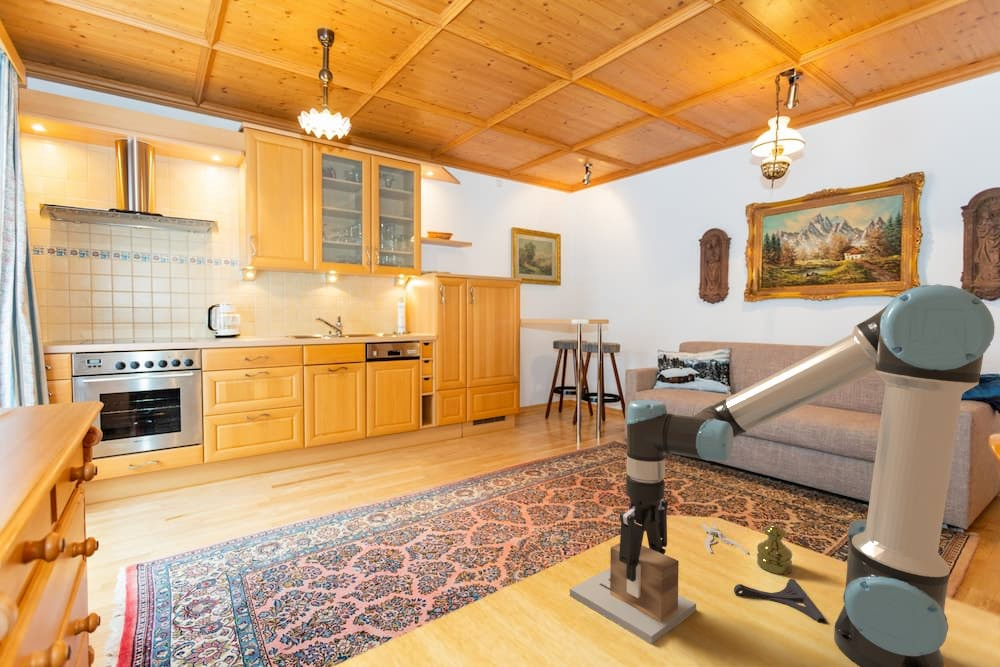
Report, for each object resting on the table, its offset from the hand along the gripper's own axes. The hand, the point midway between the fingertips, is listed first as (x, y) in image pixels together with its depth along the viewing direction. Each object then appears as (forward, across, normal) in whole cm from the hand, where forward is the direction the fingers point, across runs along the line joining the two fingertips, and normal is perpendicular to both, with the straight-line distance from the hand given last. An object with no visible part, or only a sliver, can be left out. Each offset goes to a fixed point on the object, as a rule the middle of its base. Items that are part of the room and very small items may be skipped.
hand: (643, 588), depth 99 cm
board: (+4, 0, -3) cm, 5 cm away
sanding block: (+3, 0, 0) cm, 3 cm away
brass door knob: (+5, -39, +10) cm, 41 cm away
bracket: (+5, -25, +15) cm, 30 cm away
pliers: (+5, -42, -5) cm, 43 cm away
